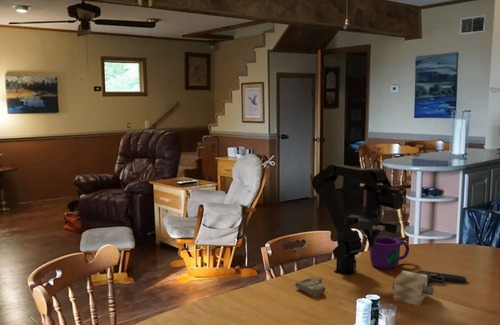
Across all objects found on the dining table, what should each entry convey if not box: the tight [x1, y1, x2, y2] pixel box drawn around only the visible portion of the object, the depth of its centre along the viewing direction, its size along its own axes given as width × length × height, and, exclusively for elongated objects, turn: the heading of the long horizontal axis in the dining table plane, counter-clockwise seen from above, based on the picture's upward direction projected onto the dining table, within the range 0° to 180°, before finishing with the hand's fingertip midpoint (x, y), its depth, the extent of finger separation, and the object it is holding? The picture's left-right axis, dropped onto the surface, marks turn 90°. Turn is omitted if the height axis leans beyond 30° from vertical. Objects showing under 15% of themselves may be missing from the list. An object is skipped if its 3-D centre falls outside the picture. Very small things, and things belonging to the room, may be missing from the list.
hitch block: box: [393, 270, 428, 306], centre depth 157 cm, size 8×10×7 cm
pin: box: [392, 276, 435, 296], centre depth 156 cm, size 12×4×4 cm, turn 57°
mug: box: [369, 236, 410, 270], centre depth 189 cm, size 17×11×10 cm, turn 111°
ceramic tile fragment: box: [294, 277, 325, 298], centre depth 163 cm, size 12×3×10 cm
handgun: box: [412, 269, 468, 287], centre depth 169 cm, size 3×18×12 cm
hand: (371, 246), depth 171 cm, fingers closed
